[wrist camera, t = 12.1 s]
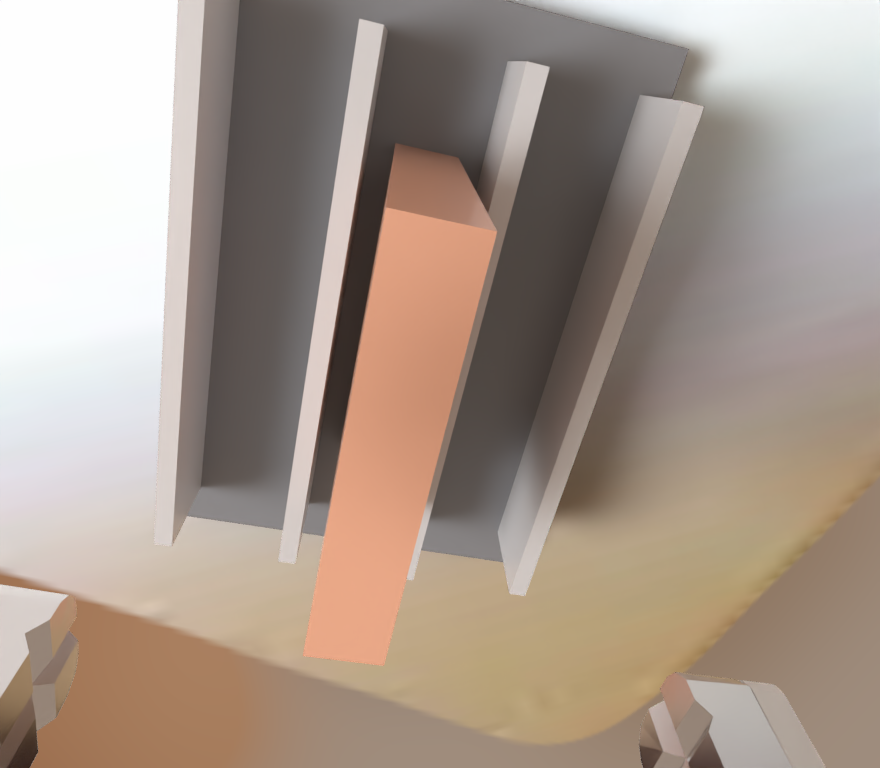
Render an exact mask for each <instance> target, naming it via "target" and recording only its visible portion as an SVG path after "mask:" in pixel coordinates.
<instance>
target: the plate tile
mask: <svg viewBox="0 0 880 768" xmlns="http://www.w3.org/2000/svg"><path fill="white" fill-rule="evenodd" d="M496 234H497V230H496V228H495V226H494V224H493V223H492V221H491V219H490V217H489V215H488V213H487V211H486V209H485V207H484V205H483V204H482V202H481V200H480V198H479V196H478V194H477V192H476V190H475V188H474V187H473V185H472V183H471V181H470V179H469V177H468V175H467V173H466V171H465V169H464V168H463V166H462V164H461V162H460V160H459V158H458V157H454V156H449V155H445V154H441V153H436V152H432V151H428V150H423V149H419V148H415V147H410V146H406V145H402V144H397V143H395V148H394V154H393V159H392V165H391V170H390V176H389V181H388V187H387V192H386V197H385V203H384V208H383V214H382V219H381V225H380V230H379V235H378V241H377V246H376V252H375V257H374V263H373V268H372V274H371V279H370V284H369V290H368V295H367V301H366V306H365V312H364V317H363V323H362V328H361V333H360V339H359V344H358V350H357V355H356V361H355V366H354V372H353V377H352V382H351V388H350V393H349V399H348V404H347V410H346V415H345V421H344V426H343V431H342V437H341V442H340V448H339V454H338V459H337V465H336V471H335V476H334V482H333V488H332V493H331V499H330V505H329V510H328V516H327V522H326V528H325V533H324V539H323V545H322V550H321V556H320V562H319V567H318V573H317V579H316V584H315V590H314V596H313V601H312V607H311V613H310V618H309V624H308V630H307V636H306V641H305V647H304V653H303V656H308V657H317V658H325V659H333V660H341V661H350V662H358V663H366V664H374V665H383V666H384V663H385V659H386V656H387V652H388V648H389V644H390V640H391V636H392V633H393V629H394V625H395V621H396V617H397V613H398V610H399V606H400V602H401V598H402V594H403V590H404V587H405V583H406V579H407V575H408V571H409V568H410V564H411V560H412V556H413V552H414V548H415V545H416V541H417V537H418V533H419V529H420V525H421V522H422V518H423V514H424V510H425V506H426V502H427V499H428V495H429V491H430V487H431V483H432V479H433V476H434V472H435V468H436V464H437V460H438V456H439V453H440V449H441V445H442V441H443V437H444V434H445V430H446V426H447V422H448V418H449V414H450V411H451V407H452V403H453V399H454V395H455V391H456V388H457V384H458V380H459V376H460V372H461V368H462V365H463V361H464V357H465V353H466V349H467V345H468V342H469V338H470V334H471V330H472V326H473V322H474V319H475V315H476V311H477V307H478V303H479V300H480V296H481V292H482V288H483V284H484V280H485V277H486V273H487V269H488V265H489V261H490V257H491V254H492V250H493V246H494V242H495V238H496Z"/></svg>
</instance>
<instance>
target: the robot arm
mask: <svg viewBox="0 0 880 768" xmlns="http://www.w3.org/2000/svg"><path fill="white" fill-rule="evenodd" d="M76 617H77V610H76V598H75V597H73V596H70V595H65V594H58V593H52V592H45V591H38V590H32V589H25V588H19V587H13V586H7V585H0V768H30V766H31V764H32V763H33V761H34V759H35V757H36V755H37V753H38V744H37V731H38V730H39V729H40V728H42V727H43V726H44V725H46V724H48V723H49V722H51V721H52V720H53V719H55V718H56V717H57V715H58V713H59V711H60V709H61V707H62V705H63V703H64V701H65V699H66V697H67V695H68V692H69V689H70V686H71V683H72V681H73V678H74V675H75V672H76V666H77V659H78V640H77V639H76V638H75V637H74V636H73V635H72V633H71V632H70V631H69V629H70V627H71V626H72V624H73V622H74V620H75V618H76ZM660 690H661V693H662V695H663V698H664V700H663V701H662V702H660V703H658V704H656V705H655V706H653V707H651V708H650V709H649V710H648V712H647V713H646V716H645V718H644V719H643V722H642V724H641V729H640V739H639V749H640V756H641V763H642V766H643V768H826V767H825V765H824V763H823V761H822V760H821V758H820V756H819V754H818V753H817V751H816V749H815V747H814V746H813V744H812V742H811V740H810V739H809V737H808V735H807V733H806V731H805V730H804V728H803V726H802V724H801V723H800V721H799V719H798V717H797V716H796V714H795V712H794V711H793V709H792V707H791V706H790V703H789V702H788V700H787V698H786V696H785V695H784V694H783V692H782V691H781V690H780V689H779V688H778V687H776V686H775V685H774V684H767V683H759V682H751V681H743V680H739V681H738V680H736V679H731V678H722V677H712V676H703V675H696V674H687V673H678V672H675V673H673V674H671V675H669V676H668V677H667V678H666V679H665V681H664V683H663V684H662V686H661V688H660Z"/></svg>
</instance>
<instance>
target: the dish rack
mask: <svg viewBox="0 0 880 768" xmlns="http://www.w3.org/2000/svg"><path fill="white" fill-rule="evenodd" d="M688 50H689V49H687V48H683V47H679V46H675V45H672V44H668V43H664V42H660V41H657V40H653V39H649V38H645V37H642V36H638V35H634V34H630V33H627V32H623V31H619V30H615V29H612V28H608V27H604V26H600V25H597V24H593V23H589V22H585V21H582V20H578V19H574V18H570V17H567V16H563V15H559V14H555V13H552V12H548V11H544V10H540V9H537V8H533V7H529V6H525V5H522V4H518V3H514V2H510V1H507V0H178V15H177V37H176V59H175V82H174V104H173V126H172V149H171V171H170V193H169V216H168V238H167V260H166V283H165V305H164V327H163V350H162V372H161V394H160V417H159V439H158V461H157V484H156V506H155V528H154V544H157V545H164V546H171V547H172V545H173V543H174V541H175V539H176V537H177V535H178V533H179V531H180V529H181V527H182V525H183V523H184V521H185V519H186V517H187V516H191V517H197V518H204V519H211V520H218V521H225V522H232V523H238V524H245V525H252V526H259V527H266V528H273V529H280V530H283V532H282V539H281V546H280V552H279V559H278V561H279V562H286V563H293V564H296V559H297V555H298V550H299V546H300V541H301V537H302V533H307V534H314V535H321V536H324V533H325V528H326V522H327V516H328V510H329V505H330V499H331V493H332V488H333V482H334V476H335V471H336V465H337V459H338V454H339V448H340V442H341V437H342V431H343V426H344V421H345V415H346V410H347V404H348V399H349V393H350V388H351V382H352V377H353V372H354V366H355V361H356V355H357V350H358V344H359V339H360V333H361V328H362V323H363V317H364V312H365V306H366V301H367V295H368V290H369V284H370V279H371V274H372V268H373V263H374V257H375V252H376V246H377V241H378V235H379V230H380V225H381V219H382V214H383V208H384V203H385V197H386V192H387V187H388V181H389V176H390V170H391V165H392V159H393V154H394V148H395V143H397V144H402V145H406V146H410V147H415V148H419V149H423V150H428V151H432V152H436V153H441V154H445V155H449V156H454V157H458V158H459V160H460V162H461V164H462V166H463V168H464V169H465V171H466V173H467V175H468V177H469V179H470V181H471V183H472V185H473V187H474V188H475V190H476V192H477V194H478V196H479V198H480V200H481V202H482V204H483V205H484V207H485V209H486V211H487V213H488V215H489V217H490V219H491V221H492V223H493V224H494V226H495V228H496V230H497V234H496V238H495V242H494V246H493V250H492V254H491V257H490V261H489V265H488V269H487V273H486V277H485V280H484V284H483V288H482V292H481V296H480V300H479V303H478V307H477V311H476V315H475V319H474V322H473V326H472V330H471V334H470V338H469V342H468V345H467V349H466V353H465V357H464V361H463V365H462V368H461V372H460V376H459V380H458V384H457V388H456V391H455V395H454V399H453V403H452V407H451V411H450V414H449V418H448V422H447V426H446V430H445V434H444V437H443V441H442V445H441V449H440V453H439V456H438V460H437V464H436V468H435V472H434V476H433V479H432V483H431V487H430V491H429V495H428V499H427V502H426V506H425V510H424V514H423V518H422V522H421V525H420V529H419V533H418V537H417V541H416V545H415V548H414V552H413V556H412V560H411V564H410V568H409V571H408V575H407V579H408V580H413V578H414V574H415V571H416V567H417V563H418V559H419V556H420V552H421V550H423V551H430V552H437V553H444V554H451V555H458V556H464V557H471V558H478V559H485V560H492V561H499V562H503V563H504V569H505V574H506V579H507V584H508V589H509V594H515V595H523V596H525V594H526V592H527V589H528V586H529V584H530V581H531V578H532V575H533V573H534V570H535V567H536V564H537V562H538V559H539V556H540V554H541V551H542V548H543V545H544V543H545V540H546V537H547V534H548V532H549V529H550V526H551V524H552V521H553V518H554V515H555V513H556V510H557V507H558V504H559V502H560V499H561V496H562V494H563V491H564V488H565V485H566V483H567V480H568V477H569V474H570V472H571V469H572V466H573V464H574V461H575V458H576V455H577V453H578V450H579V447H580V444H581V442H582V439H583V436H584V434H585V431H586V428H587V425H588V423H589V420H590V417H591V415H592V412H593V409H594V406H595V404H596V401H597V398H598V395H599V393H600V390H601V387H602V385H603V382H604V379H605V376H606V374H607V371H608V368H609V365H610V363H611V360H612V357H613V355H614V352H615V349H616V346H617V344H618V341H619V338H620V335H621V333H622V330H623V327H624V325H625V322H626V319H627V316H628V314H629V311H630V308H631V305H632V303H633V300H634V297H635V295H636V292H637V289H638V286H639V284H640V281H641V278H642V275H643V273H644V270H645V267H646V265H647V262H648V259H649V256H650V254H651V251H652V248H653V245H654V243H655V240H656V237H657V235H658V232H659V229H660V226H661V224H662V221H663V218H664V216H665V213H666V210H667V207H668V205H669V202H670V199H671V196H672V194H673V191H674V188H675V186H676V183H677V180H678V177H679V175H680V172H681V169H682V166H683V164H684V161H685V158H686V156H687V153H688V150H689V147H690V145H691V142H692V139H693V136H694V134H695V131H696V128H697V126H698V123H699V120H700V117H701V115H702V112H703V109H704V106H701V105H697V104H693V103H689V102H685V101H680V100H673V99H672V96H673V93H674V90H675V87H676V85H677V82H678V79H679V76H680V73H681V70H682V67H683V64H684V61H685V58H686V56H687V53H688Z"/></svg>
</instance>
